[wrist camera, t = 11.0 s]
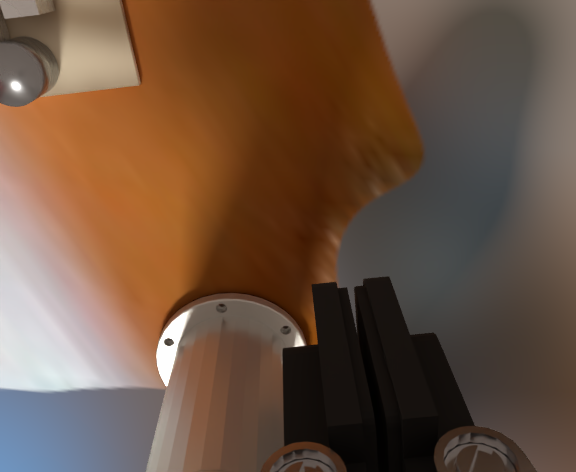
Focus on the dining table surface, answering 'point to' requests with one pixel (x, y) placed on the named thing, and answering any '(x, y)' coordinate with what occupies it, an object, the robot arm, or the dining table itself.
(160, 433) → the robot arm
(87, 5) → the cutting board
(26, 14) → the arm
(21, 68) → the tong arm
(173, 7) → the dining table surface
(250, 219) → the dining table surface
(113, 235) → the dining table surface
